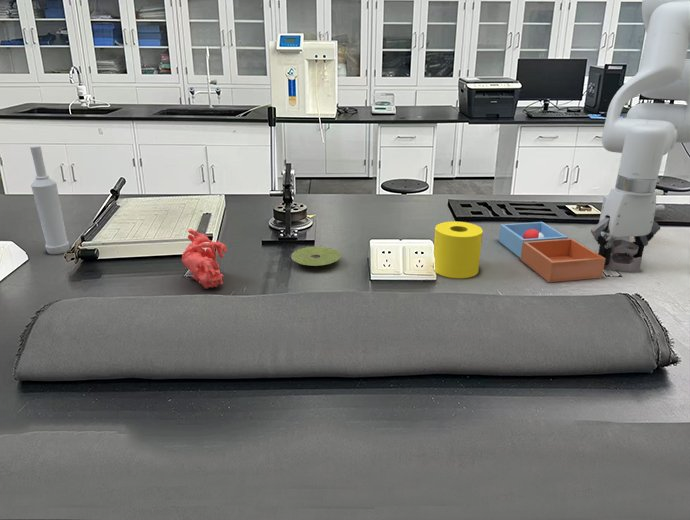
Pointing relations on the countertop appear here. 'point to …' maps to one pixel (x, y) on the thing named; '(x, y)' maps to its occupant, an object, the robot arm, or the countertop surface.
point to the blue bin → (514, 234)
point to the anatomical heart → (203, 259)
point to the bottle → (48, 207)
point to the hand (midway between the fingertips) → (618, 261)
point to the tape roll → (457, 249)
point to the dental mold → (624, 257)
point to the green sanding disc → (315, 256)
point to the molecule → (532, 234)
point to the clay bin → (562, 260)
